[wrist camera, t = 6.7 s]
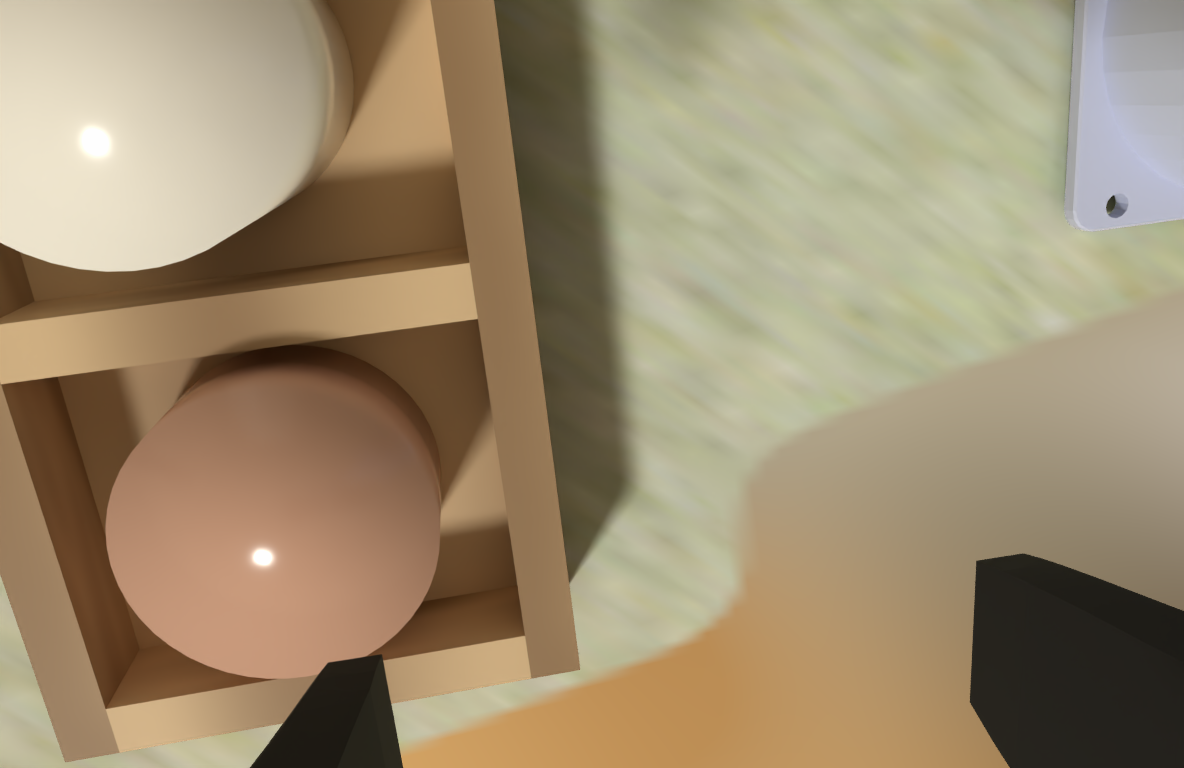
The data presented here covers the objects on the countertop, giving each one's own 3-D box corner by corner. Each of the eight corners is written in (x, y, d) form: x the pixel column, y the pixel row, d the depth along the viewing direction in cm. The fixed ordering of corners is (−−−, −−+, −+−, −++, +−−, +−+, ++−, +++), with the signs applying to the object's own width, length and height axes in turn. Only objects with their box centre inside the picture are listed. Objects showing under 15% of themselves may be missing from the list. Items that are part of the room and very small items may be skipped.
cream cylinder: (333, -78, 16) (266, -177, 10) (371, 204, 17) (331, 253, 12) (38, -66, 15) (-207, -164, 10) (103, 224, 17) (-76, 288, 11)
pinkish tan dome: (418, 326, 18) (412, 365, 15) (460, 576, 20) (461, 649, 17) (123, 366, 18) (64, 414, 15) (193, 620, 19) (151, 703, 17)
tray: (460, -184, 16) (462, -243, 14) (563, 593, 21) (580, 669, 19) (-133, -137, 15) (-265, -191, 13) (118, 670, 20) (65, 762, 18)
